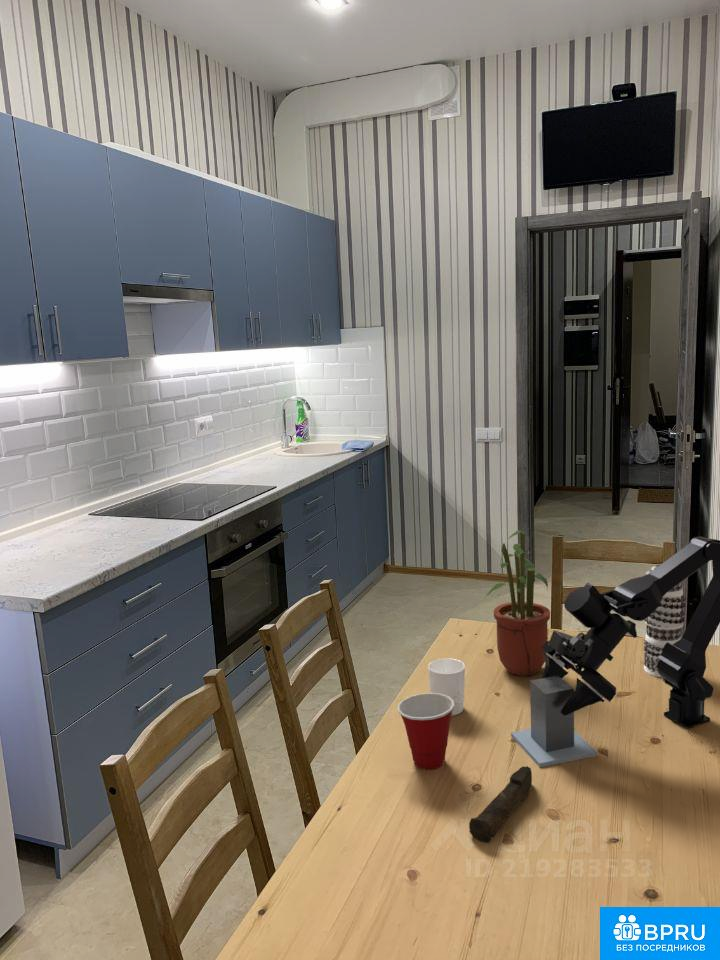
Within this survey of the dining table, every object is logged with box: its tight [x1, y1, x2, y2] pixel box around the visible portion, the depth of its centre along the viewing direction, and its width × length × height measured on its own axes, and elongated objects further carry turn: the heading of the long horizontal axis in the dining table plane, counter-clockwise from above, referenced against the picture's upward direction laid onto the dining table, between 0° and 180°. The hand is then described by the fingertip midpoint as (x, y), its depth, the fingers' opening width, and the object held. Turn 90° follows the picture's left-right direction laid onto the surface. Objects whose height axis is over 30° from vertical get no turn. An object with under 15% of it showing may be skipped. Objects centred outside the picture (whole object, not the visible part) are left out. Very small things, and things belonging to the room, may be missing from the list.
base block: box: [510, 728, 598, 768], centre depth 147 cm, size 12×12×4 cm
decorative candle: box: [643, 564, 686, 679], centre depth 175 cm, size 9×9×25 cm
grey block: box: [529, 676, 575, 752], centre depth 146 cm, size 6×6×12 cm
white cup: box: [427, 657, 466, 717], centre depth 163 cm, size 8×8×10 cm
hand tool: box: [468, 766, 533, 844], centre depth 127 cm, size 19×4×5 cm, turn 140°
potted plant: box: [482, 530, 551, 676], centre depth 180 cm, size 17×16×35 cm
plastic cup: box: [397, 692, 454, 771], centre depth 143 cm, size 11×11×12 cm
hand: (550, 703), depth 146 cm, fingers open, 9 cm apart
